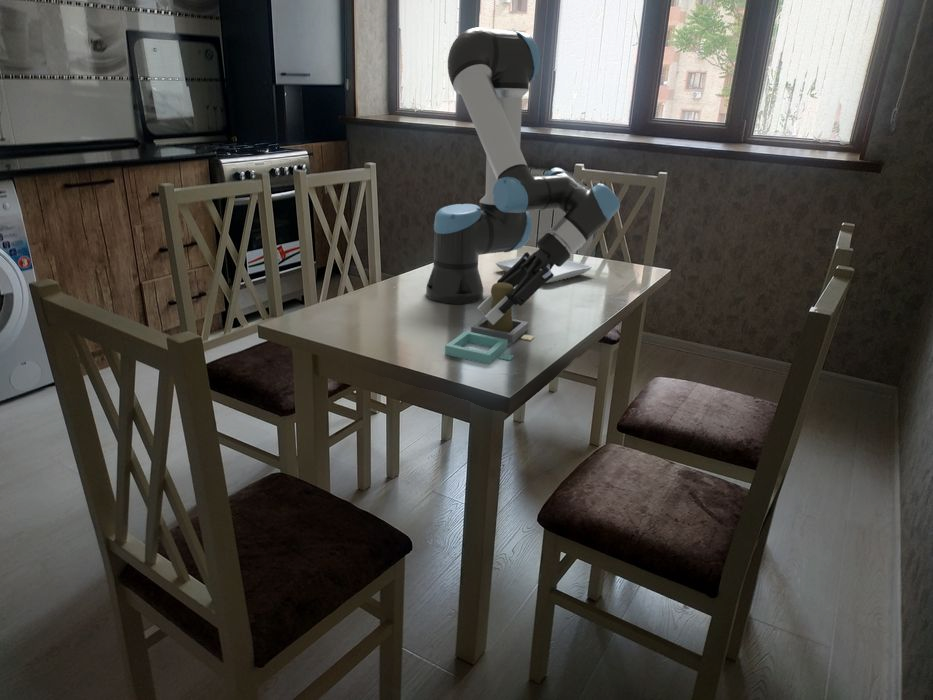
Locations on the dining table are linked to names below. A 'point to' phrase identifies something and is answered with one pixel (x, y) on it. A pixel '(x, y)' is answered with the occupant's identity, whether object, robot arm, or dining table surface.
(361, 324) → the dining table surface
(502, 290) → the cork
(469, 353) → the panel
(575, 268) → the salad plate
